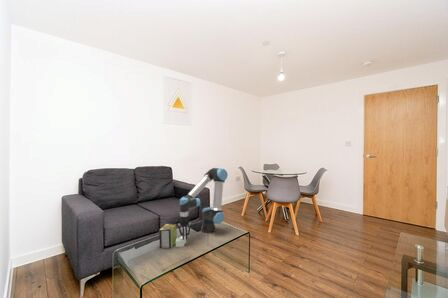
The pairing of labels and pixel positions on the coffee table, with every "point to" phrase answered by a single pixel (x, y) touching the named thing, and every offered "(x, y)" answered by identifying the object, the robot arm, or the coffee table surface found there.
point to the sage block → (179, 242)
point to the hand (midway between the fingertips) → (185, 242)
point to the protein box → (168, 235)
